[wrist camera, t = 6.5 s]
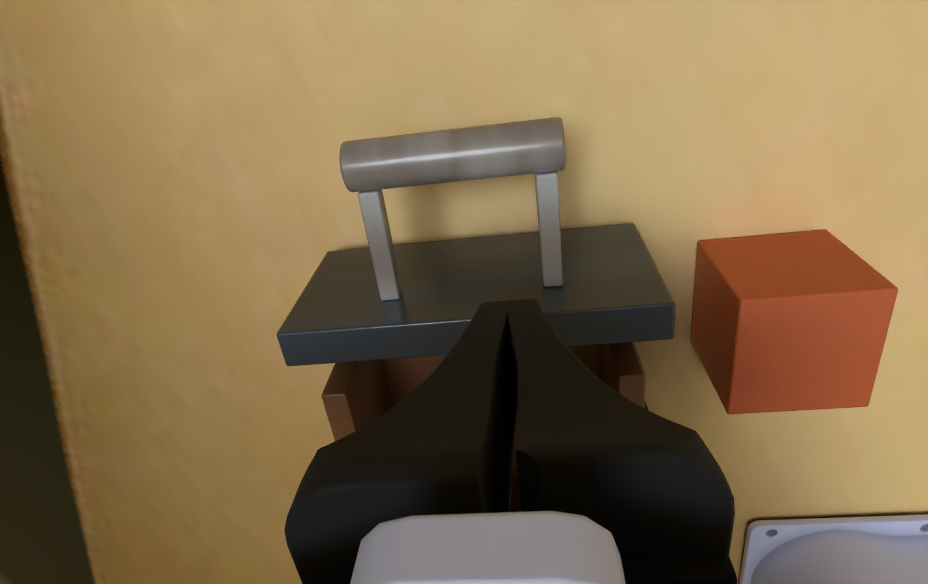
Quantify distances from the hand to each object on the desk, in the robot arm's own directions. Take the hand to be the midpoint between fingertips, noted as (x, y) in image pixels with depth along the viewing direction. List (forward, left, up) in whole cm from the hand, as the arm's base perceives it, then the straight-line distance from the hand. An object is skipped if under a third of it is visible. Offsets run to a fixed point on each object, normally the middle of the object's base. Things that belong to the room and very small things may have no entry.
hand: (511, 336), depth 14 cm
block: (-9, +4, -9) cm, 14 cm away
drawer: (+1, +5, -8) cm, 10 cm away
